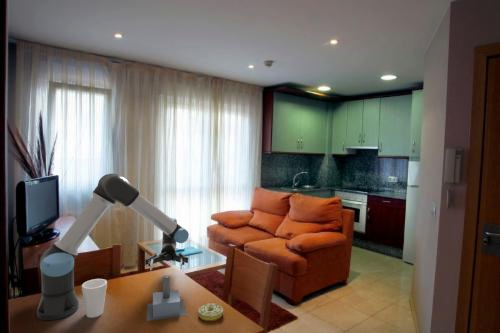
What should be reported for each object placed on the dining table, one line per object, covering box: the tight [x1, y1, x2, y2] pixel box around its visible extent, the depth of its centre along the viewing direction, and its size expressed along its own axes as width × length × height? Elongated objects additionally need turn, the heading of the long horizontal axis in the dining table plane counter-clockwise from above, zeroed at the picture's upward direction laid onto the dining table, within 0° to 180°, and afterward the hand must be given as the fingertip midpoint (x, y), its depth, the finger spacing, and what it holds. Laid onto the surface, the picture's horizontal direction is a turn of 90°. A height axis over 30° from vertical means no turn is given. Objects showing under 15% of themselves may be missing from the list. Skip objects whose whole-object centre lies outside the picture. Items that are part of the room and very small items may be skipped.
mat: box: [146, 299, 187, 322], centre depth 135 cm, size 16×14×1 cm
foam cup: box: [81, 278, 108, 319], centre depth 130 cm, size 10×9×13 cm
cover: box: [152, 275, 181, 318], centre depth 134 cm, size 11×11×15 cm
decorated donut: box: [197, 302, 224, 322], centre depth 131 cm, size 10×11×4 cm
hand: (166, 266), depth 143 cm, fingers open, 13 cm apart
